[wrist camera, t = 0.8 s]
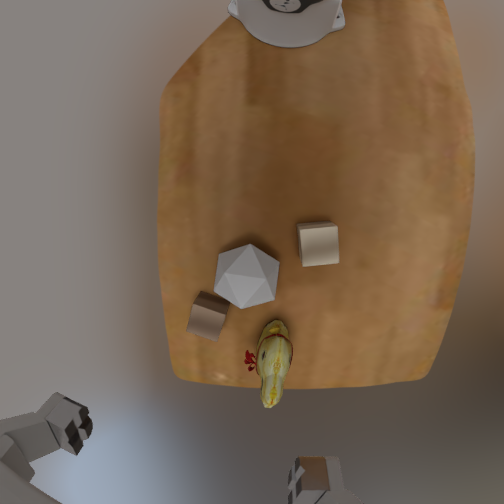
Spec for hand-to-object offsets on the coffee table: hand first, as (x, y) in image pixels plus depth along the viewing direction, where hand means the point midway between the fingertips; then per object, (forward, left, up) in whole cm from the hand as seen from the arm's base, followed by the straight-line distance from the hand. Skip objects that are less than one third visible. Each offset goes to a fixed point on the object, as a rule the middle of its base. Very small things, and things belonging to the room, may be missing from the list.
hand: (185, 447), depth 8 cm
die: (+4, 0, -35) cm, 35 cm away
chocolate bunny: (+16, +5, -35) cm, 39 cm away
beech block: (-2, +9, -35) cm, 36 cm away
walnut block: (+12, -5, -35) cm, 37 cm away
